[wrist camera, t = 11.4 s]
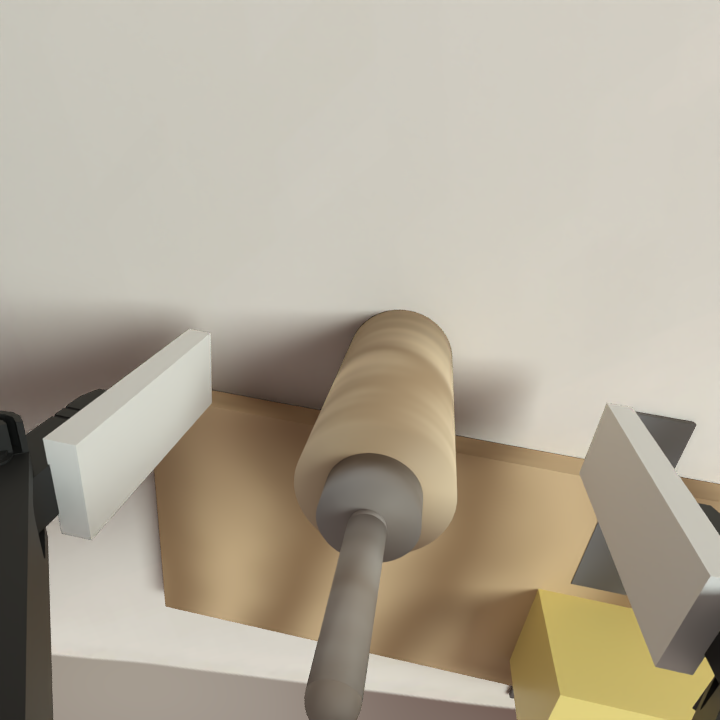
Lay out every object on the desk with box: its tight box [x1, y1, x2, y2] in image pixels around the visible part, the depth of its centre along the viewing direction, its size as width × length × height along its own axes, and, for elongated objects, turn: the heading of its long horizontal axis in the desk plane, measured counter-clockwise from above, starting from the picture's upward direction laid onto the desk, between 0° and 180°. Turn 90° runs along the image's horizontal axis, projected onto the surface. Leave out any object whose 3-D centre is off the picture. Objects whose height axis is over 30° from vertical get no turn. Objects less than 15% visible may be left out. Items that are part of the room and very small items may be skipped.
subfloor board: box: [154, 390, 720, 698], centre depth 22 cm, size 26×18×1 cm
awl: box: [294, 310, 457, 720], centre depth 13 cm, size 4×4×13 cm
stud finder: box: [510, 589, 715, 720], centre depth 20 cm, size 7×5×5 cm
